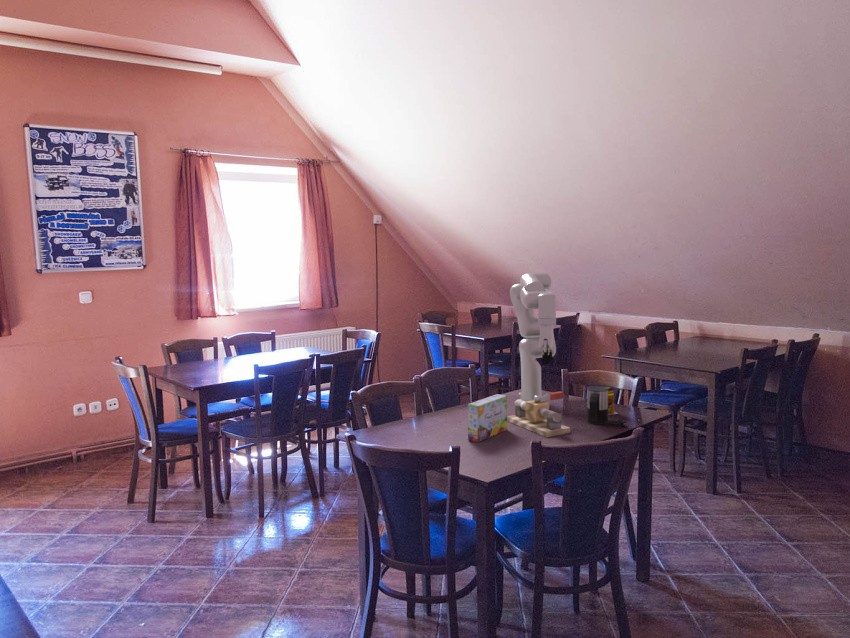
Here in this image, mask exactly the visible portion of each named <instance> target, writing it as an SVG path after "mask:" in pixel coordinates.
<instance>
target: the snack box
mask: <svg viewBox="0 0 850 638" xmlns="http://www.w3.org/2000/svg"><path fill="white" fill-rule="evenodd" d="M467 404H468V405H467V441H470V440H471V441H470V442H475V443H479V442H482V441H484V440H486V439H489V438H491V436H492V437H494V436H496V435H498V433H499V434H500V433H503V432H505V430H506V431H507V430H508V421H507V416H508V395H505V394H498V393H497V394H494V395H490V396H488V397H485V398H482V399H479V400H477V401H474V402H471V403H467ZM493 435H494V436H493Z"/></svg>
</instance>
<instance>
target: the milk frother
mask: <svg viewBox="0 0 850 638" xmlns="http://www.w3.org/2000/svg"><path fill="white" fill-rule="evenodd" d="M586 390H587V400H586V401H587V407H586V408H587V409H586V410H587V411H586V412H587V413H586V422H587V423H589V424H591V425H606V424H618V426H620V425H621V426H624V424H627V421H626V420H625V421H624V419H621V418H619V419H618V420H616V419H610V420H609V415H608V390H609V389H608V388H606V387H603V386H599V385H597V386H595V385H594V386H593V385H592V386H587V387H586Z"/></svg>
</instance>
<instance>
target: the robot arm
mask: <svg viewBox="0 0 850 638" xmlns="http://www.w3.org/2000/svg"><path fill="white" fill-rule="evenodd" d="M519 282H520V283H515V284H513V285H511V286H510V290H509V295H510V301H511V304H512V306H513V309H514V310H515V314H516V317H517V324H518V330H519V334H520V336H521V337H523V339H521V340H520V341H519V343H518V344H519V345H518V350H519V351H518V352H519V357H520V376H521V378H520V379H521V380H520V382H521V383H520V384H521V385H520V386H521V387H520V388H521V391H519V392H518V396H520V398H519V400H522V401H525V402H527V401H533V400H534V396H535V395H539V396H541V395H542V366H541V364H540V363H539V361H537V359H539V358H541V359H542V360H541V361H542V365H550V363H551V362H552V361H553V357H554V356H555V355H556V353H557V346H556V340H555V335H554V327H555V326H557V298H556V294H555V293H554V292H552V291H550V289H551V287H552V277H551V276H550V275H549V274H548V273H547V272H528V273H525V274H523V275H521V277H520V280H519ZM534 309H537V313H538V314H537V316H538V317H536V315H535V311H534ZM544 401H545V402H546V400H544Z"/></svg>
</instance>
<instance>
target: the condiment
mask: <svg viewBox="0 0 850 638" xmlns="http://www.w3.org/2000/svg"><path fill="white" fill-rule="evenodd" d="M602 387H606V388H608V389H609V390H608V416H614V415H616V414H617V415H618V412H616V411H615V394H614V387H613V386H609V385H605V386H602Z"/></svg>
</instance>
